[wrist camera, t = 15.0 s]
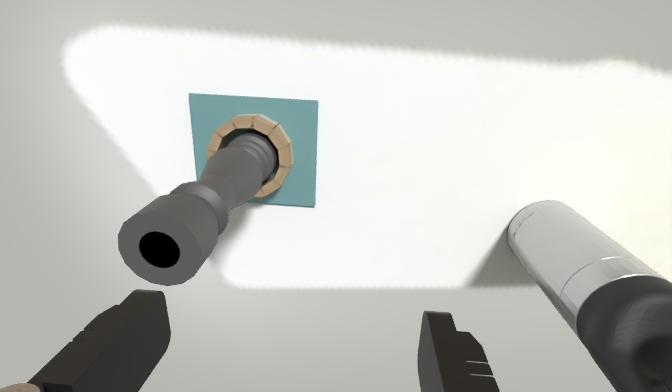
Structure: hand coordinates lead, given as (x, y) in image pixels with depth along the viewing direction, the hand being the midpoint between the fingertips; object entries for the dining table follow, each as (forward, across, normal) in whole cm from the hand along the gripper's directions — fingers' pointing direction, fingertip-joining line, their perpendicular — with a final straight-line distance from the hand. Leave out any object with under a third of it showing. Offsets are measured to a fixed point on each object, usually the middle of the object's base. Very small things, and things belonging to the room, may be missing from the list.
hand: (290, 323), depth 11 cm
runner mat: (+37, +12, +4) cm, 39 cm away
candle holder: (+37, +12, +4) cm, 39 cm away
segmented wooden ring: (+37, +12, +4) cm, 39 cm away
